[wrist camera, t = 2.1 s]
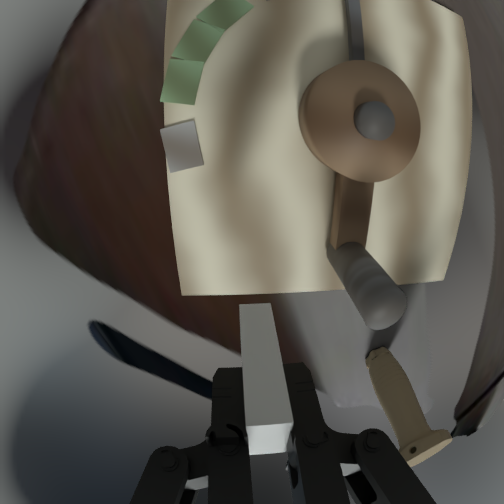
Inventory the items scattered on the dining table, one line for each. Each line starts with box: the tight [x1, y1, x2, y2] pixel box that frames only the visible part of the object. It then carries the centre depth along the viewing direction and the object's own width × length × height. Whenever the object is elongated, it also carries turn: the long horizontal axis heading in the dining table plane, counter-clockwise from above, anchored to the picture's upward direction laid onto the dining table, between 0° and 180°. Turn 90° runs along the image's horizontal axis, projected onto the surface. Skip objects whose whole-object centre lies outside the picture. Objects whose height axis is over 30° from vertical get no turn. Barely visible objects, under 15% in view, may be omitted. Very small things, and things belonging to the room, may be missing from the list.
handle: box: [366, 347, 452, 467], centre depth 22 cm, size 5×6×15 cm
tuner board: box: [160, 0, 472, 295], centre depth 17 cm, size 26×28×1 cm
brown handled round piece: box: [298, 0, 421, 330], centre depth 13 cm, size 25×8×8 cm, turn 0°
